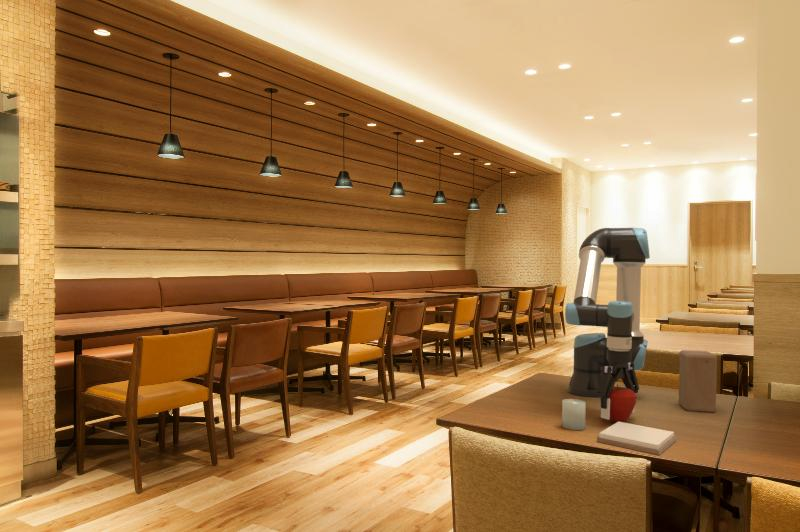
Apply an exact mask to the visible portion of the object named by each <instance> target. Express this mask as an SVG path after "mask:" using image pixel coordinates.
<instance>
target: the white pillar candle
mask: <svg viewBox="0 0 800 532" xmlns="http://www.w3.org/2000/svg"><path fill="white" fill-rule="evenodd" d="M586 404H587V401H585V400H582V399H579V398H578V399H577V398H565V399H562V403H561V406H562V407H561V426H562V428H564V429H567V430H571V431H583V430H586V421H587V419H586V418H587V417H586V414H587V413H586V412H587V411H586V409H587V408H586V406H587V405H586Z"/></svg>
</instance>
